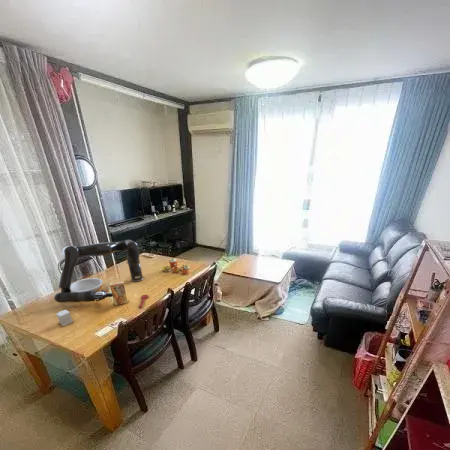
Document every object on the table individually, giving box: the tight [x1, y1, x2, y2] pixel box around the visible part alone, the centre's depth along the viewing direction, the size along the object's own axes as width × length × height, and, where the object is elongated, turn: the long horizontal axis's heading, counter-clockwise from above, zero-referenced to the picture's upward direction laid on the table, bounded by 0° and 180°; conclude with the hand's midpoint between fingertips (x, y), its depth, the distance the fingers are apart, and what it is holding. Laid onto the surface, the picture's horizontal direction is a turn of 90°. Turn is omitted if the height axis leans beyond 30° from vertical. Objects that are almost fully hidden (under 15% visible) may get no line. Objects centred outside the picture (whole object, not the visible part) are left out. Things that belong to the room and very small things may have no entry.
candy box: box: [109, 281, 129, 306], centre depth 177 cm, size 9×4×15 cm, turn 116°
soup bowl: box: [70, 277, 104, 292], centre depth 194 cm, size 24×24×7 cm
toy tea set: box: [162, 257, 190, 275], centre depth 229 cm, size 26×16×10 cm, turn 68°
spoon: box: [138, 294, 149, 309], centre depth 181 cm, size 17×5×1 cm, turn 4°
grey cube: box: [55, 309, 74, 327], centre depth 158 cm, size 6×6×7 cm
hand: (112, 294), depth 177 cm, fingers closed
